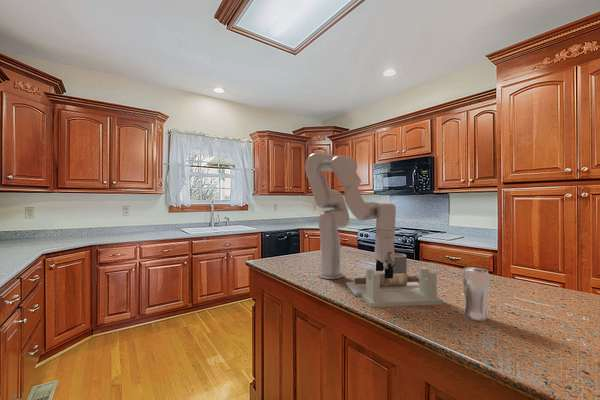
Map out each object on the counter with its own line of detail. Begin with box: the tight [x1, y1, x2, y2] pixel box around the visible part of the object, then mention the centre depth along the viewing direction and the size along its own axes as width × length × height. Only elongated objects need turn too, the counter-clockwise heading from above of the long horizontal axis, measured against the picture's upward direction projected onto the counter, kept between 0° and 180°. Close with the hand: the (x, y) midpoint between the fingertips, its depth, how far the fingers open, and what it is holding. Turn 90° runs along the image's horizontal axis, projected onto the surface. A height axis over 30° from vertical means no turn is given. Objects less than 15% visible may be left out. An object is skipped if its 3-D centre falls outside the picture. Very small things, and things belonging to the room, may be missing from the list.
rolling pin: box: [353, 273, 419, 286], centre depth 114 cm, size 26×5×5 cm, turn 95°
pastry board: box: [345, 281, 419, 297], centre depth 114 cm, size 13×30×1 cm, turn 95°
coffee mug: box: [383, 252, 408, 276], centre depth 134 cm, size 13×10×10 cm
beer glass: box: [462, 266, 490, 322], centre depth 87 cm, size 7×7×15 cm
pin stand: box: [361, 267, 443, 308], centre depth 101 cm, size 10×26×11 cm, turn 95°
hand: (383, 274), depth 115 cm, fingers open, 9 cm apart
